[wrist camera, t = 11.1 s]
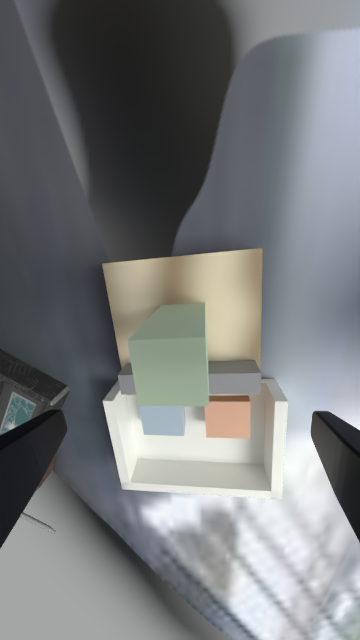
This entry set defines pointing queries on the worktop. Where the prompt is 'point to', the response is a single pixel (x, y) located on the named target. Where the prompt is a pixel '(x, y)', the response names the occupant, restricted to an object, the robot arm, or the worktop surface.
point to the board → (192, 298)
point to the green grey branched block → (181, 362)
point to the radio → (27, 401)
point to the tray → (202, 450)
